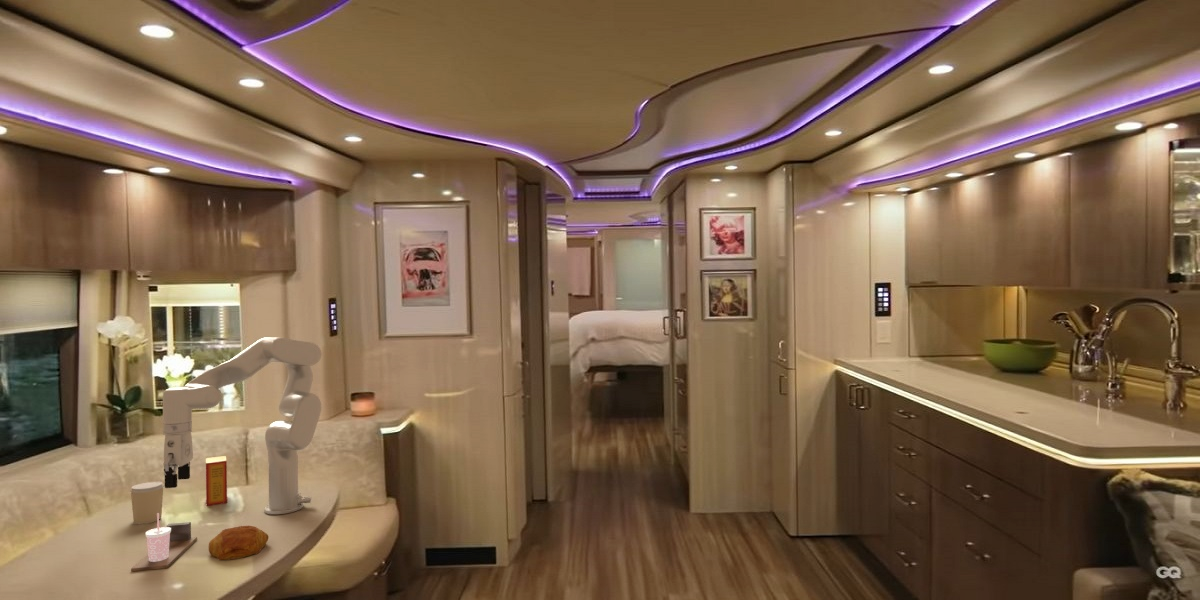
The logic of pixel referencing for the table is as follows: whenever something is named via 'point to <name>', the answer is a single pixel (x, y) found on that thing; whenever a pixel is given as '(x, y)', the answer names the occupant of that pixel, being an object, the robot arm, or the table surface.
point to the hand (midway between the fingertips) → (177, 483)
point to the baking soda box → (216, 480)
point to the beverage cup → (158, 542)
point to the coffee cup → (147, 501)
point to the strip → (170, 547)
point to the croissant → (237, 542)
